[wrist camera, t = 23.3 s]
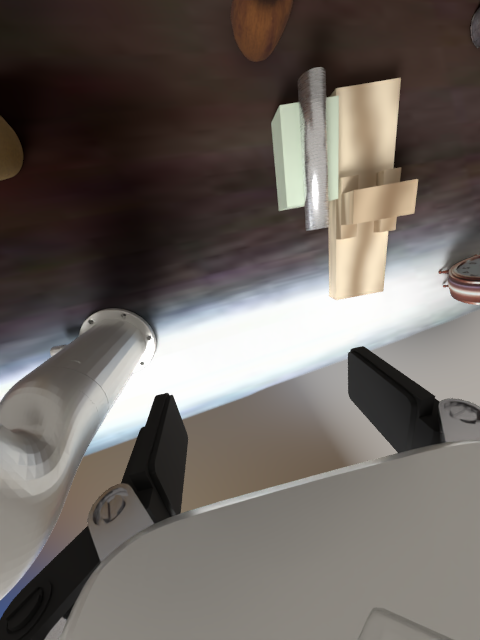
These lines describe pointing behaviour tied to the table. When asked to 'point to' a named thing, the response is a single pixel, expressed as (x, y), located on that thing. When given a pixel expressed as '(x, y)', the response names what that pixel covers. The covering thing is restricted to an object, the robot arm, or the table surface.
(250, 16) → the wooden figurine
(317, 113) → the steel axle
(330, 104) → the block
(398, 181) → the maple beam
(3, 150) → the plant pot
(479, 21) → the butter churn
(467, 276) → the alarm clock
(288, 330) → the table surface
